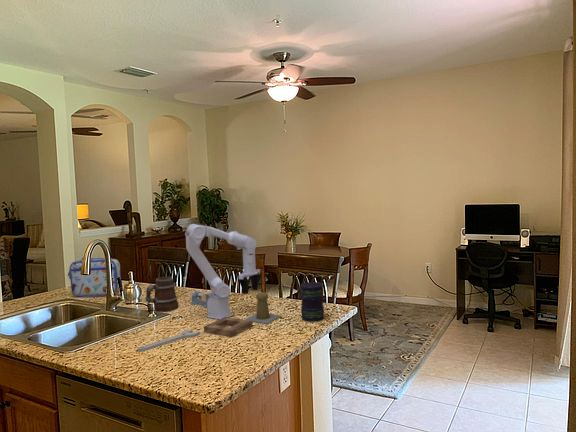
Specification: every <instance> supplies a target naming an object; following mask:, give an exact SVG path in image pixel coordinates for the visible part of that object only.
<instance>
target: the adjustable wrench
mask: <svg viewBox="0 0 576 432" xmlns="http://www.w3.org/2000/svg"><path fill="white" fill-rule="evenodd" d="M200 333H201V332H200V330H196V331H195V332H193V329H187V330H184V331H181V332H180V333H179V334H177V335H175V336H171V337H168V338H163V339H161V340H157V341H155V342H152V343H148V344H145V345H141V346H138V347H137V352H138V353H142V352H146V351H149V350H152V349H156V348H158V347H159V348H160V347H161V346H165V345H167V344H171V343H175V342H177V341H180V340H183V339H190V338H191V339H192V338H196V337H199V336H200Z"/></svg>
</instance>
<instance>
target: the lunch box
mask: <svg viewBox="0 0 576 432" xmlns="http://www.w3.org/2000/svg"><path fill="white" fill-rule="evenodd" d="M90 258H91V274H90V275H88V276H82V275H81V274H80V271H81V265H82V260H83V257H82V258H81V259H80V260H75V261H72V262H71V264H70V265H69V268H68V272H67V277H68V279H69V280H70V281H69V282H70V288H71V289H70V290H71V293H72V295H73V296H75V297H78V298H91V297H93V298H95V297H102V296H103V297H104V296H107V295H106V289H107V284H106V267H105V258H103V257H96V258H95V257H93V258H92V257H90ZM110 259H111V264H112V278H113V287H114V294H115V293H117V292H119V291H120V290H119V287H118V282H117V278H118V277H120V278H121V264H120V262H119V260H118V259H116V258H110Z"/></svg>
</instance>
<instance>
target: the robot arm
mask: <svg viewBox="0 0 576 432" xmlns="http://www.w3.org/2000/svg"><path fill="white" fill-rule="evenodd" d="M184 235H185V248H186V251H187V253H188V254H189V255H190V257H191V258H192V260H193V261H194V263H195V264H196V266H197V267H198V268H199V270H200V271H201V273H202V275H204V278H205V279H206V280H207V282H208V284H209V286H210V292H212V293H213V296H211V297H210V298H209V299H208V302H207V308H206V309H207V310H206V311H207V316H206V318H208V319H209V318H210V319H215V320H219V319H221V318H224V317H230V318H231V317H232V316H234V313H231V312H230V299H229V296H230V292H231V288H230V286H229V285H228V284H226V283H225V282H224V281H223V280H222V279H221V278H220V277H219V275H218V274H217V272H216V271H215V270H214V268H213V267H212V264H210V262H209V260H208V258H207V257H206V256H205V255H204V253H203V251H202V250H201V248H200V246H201V244H202V241H203V240H204V238H205V237H210V236H213V237H216V238H219V239H223V240H226V242H227V244H228V245H229V244H230V245H233V246H235V247H238V248H242V267H243V268H242V270H243V271H242V273H240V274H238V278H237V282H238V283H239V286H240V287H241V290H242V292H243V294H244V295H246V294H247V295H248V294H249V287H250V282H251V288H252V291H257V290H258V287H259V283H260V281H261V278H262V274H261V269H259V268H256V266H257V265H256V248H257V246H258V243H257V240H256V239H255V238H253V237H250V236H248V235H247V234H242V233H239V232H238V231H237V230H234V231H230V232H226V231H223V230H221V229H218V228H215V227H212V226H207V225H202V224H196V223H191V224H189V226H187V227H186V231H185V233H184Z"/></svg>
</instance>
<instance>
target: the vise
mask: <svg viewBox="0 0 576 432" xmlns="http://www.w3.org/2000/svg"><path fill="white" fill-rule="evenodd" d="M184 296H185V297H189V296H191V302H190V305H192V306H194V305H198V306H201V307H203V308H204V309H207V302H208V299H209V298H210V297H211V296H213V293H212V291H207V292H203V290H202V289H199V290H198V291H191V292H190V293H187V292H186V293H185V294H184Z"/></svg>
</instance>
